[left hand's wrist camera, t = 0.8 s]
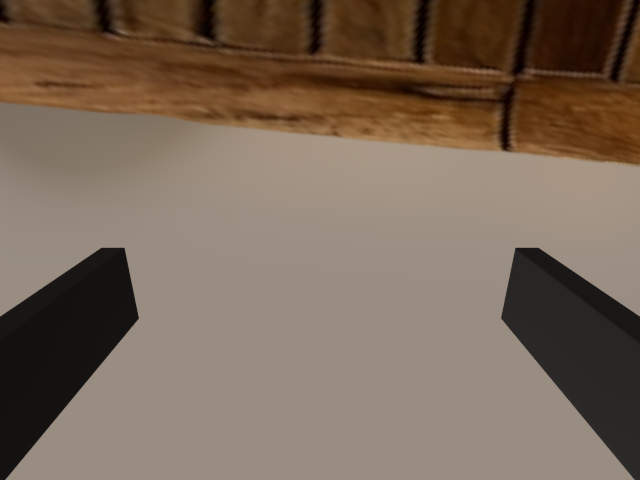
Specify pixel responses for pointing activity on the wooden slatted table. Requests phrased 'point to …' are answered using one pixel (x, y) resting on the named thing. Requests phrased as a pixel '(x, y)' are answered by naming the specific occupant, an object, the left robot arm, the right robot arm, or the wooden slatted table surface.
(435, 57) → the wooden slatted table surface
